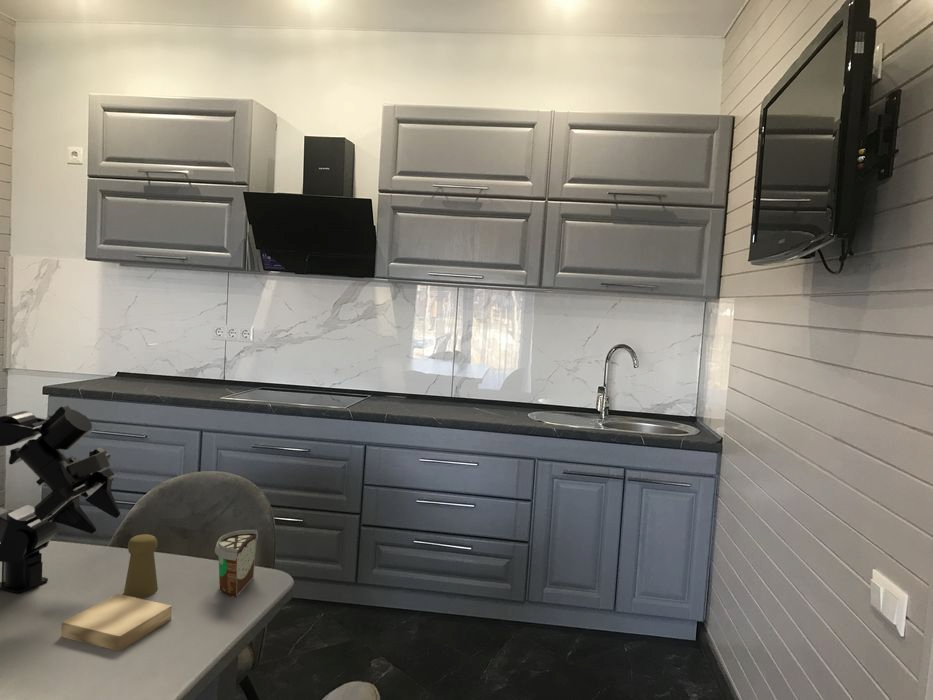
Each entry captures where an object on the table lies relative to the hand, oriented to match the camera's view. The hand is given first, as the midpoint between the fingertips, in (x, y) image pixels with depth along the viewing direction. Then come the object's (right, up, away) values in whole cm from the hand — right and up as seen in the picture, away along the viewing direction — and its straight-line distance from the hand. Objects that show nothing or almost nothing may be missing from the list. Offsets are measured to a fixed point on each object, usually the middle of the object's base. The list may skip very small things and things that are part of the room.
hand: (107, 523), depth 127 cm
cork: (+6, -14, +1) cm, 15 cm away
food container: (+22, -15, +6) cm, 27 cm away
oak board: (+9, -15, -13) cm, 22 cm away
